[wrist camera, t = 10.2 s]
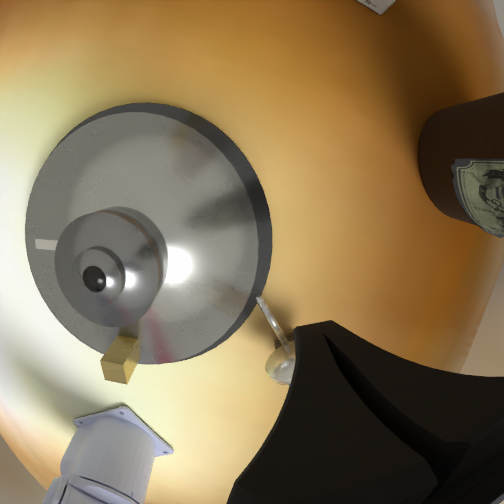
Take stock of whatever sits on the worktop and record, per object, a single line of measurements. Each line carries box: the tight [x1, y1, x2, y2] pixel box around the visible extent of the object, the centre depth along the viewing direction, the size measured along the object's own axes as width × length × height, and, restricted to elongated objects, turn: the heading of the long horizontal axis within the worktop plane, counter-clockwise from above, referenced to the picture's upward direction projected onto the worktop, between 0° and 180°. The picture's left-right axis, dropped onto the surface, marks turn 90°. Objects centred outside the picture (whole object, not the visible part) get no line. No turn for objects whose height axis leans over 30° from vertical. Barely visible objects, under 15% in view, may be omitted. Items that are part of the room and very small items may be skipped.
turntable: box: [25, 112, 258, 384], centre depth 15 cm, size 17×17×4 cm
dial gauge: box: [256, 295, 296, 386], centre depth 18 cm, size 4×6×5 cm, turn 28°
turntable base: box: [49, 103, 272, 363], centre depth 18 cm, size 19×19×1 cm
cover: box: [54, 206, 169, 327], centre depth 14 cm, size 6×6×4 cm
